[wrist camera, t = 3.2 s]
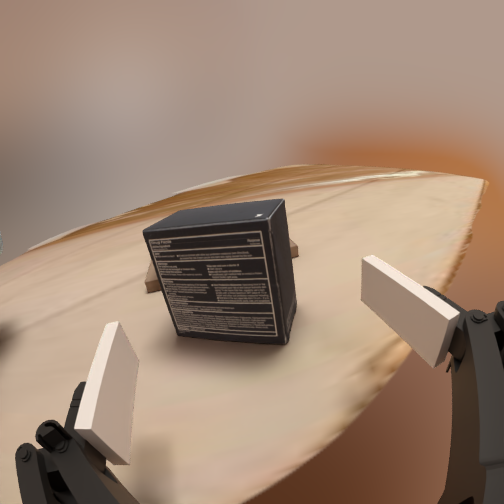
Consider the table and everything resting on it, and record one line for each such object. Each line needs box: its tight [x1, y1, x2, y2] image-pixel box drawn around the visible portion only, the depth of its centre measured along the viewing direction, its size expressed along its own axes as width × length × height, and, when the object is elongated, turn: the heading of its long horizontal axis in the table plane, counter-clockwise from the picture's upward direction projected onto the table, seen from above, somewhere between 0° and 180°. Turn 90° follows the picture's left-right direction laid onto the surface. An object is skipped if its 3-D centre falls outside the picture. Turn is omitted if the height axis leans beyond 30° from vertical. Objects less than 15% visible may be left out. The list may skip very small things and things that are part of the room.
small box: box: [143, 199, 297, 344], centre depth 23 cm, size 11×6×10 cm, turn 74°
